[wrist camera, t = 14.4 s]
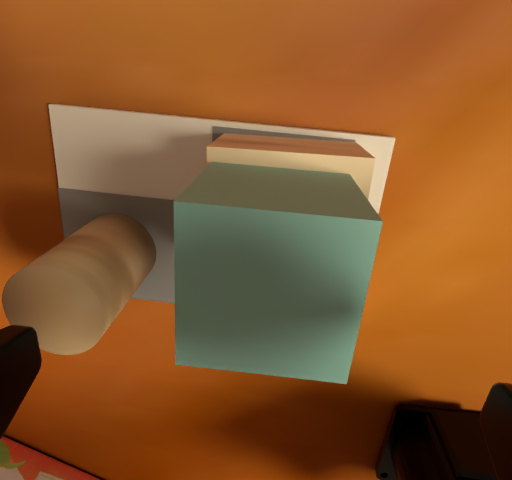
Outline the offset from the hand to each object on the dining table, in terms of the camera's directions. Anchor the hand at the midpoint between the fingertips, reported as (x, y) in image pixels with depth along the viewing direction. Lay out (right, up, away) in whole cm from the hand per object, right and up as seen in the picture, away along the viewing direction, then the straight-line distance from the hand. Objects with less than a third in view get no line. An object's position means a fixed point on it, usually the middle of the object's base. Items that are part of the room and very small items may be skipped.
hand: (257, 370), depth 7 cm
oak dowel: (-7, +2, +12) cm, 15 cm away
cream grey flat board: (-2, +4, +12) cm, 13 cm away
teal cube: (+1, +3, +7) cm, 8 cm away
